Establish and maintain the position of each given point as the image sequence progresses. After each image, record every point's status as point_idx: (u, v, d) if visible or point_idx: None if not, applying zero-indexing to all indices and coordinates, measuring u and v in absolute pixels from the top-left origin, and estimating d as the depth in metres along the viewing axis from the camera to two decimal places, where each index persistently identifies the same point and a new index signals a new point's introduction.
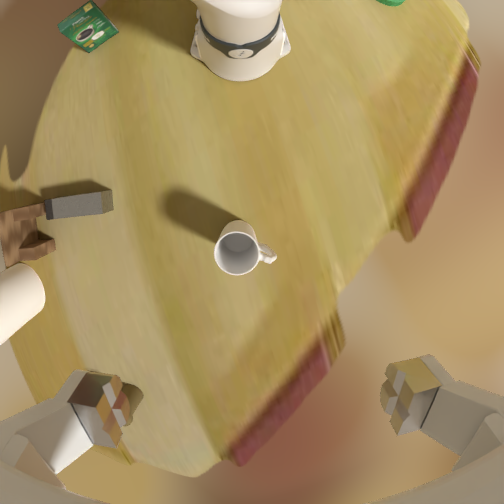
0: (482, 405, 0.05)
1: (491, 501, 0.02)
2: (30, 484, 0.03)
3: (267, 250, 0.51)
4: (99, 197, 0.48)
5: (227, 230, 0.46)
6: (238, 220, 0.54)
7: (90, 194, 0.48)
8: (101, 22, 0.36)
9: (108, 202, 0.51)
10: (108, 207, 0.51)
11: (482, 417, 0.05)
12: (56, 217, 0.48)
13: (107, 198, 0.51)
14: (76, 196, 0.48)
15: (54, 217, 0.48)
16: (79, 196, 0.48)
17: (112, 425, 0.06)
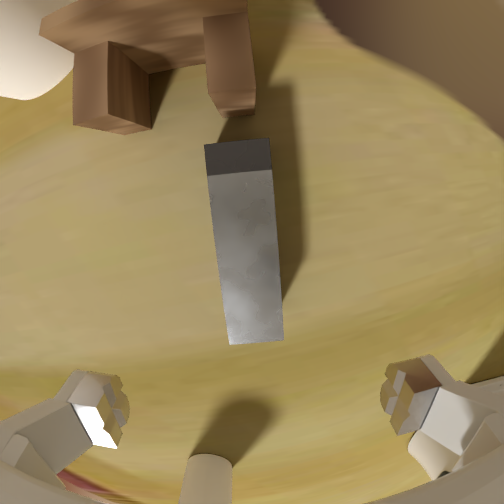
0: (482, 405, 0.05)
1: (491, 501, 0.02)
2: (30, 484, 0.03)
3: None
4: (269, 336, 0.21)
5: None
6: None
7: (279, 313, 0.20)
8: None
9: None
10: None
11: (483, 416, 0.05)
12: (212, 188, 0.18)
13: None
14: (276, 269, 0.20)
15: (212, 179, 0.18)
16: (275, 279, 0.20)
17: (112, 425, 0.06)
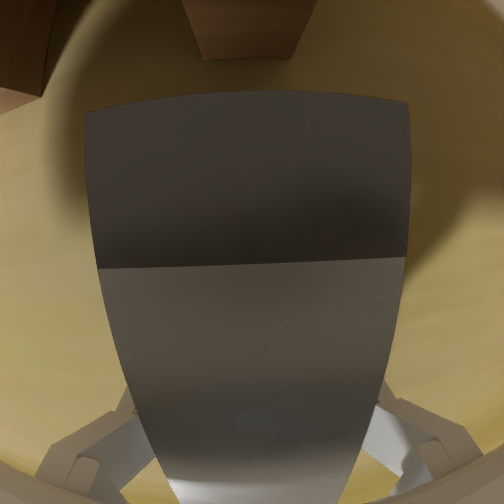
0: (421, 429, 0.05)
1: (491, 501, 0.02)
2: (30, 484, 0.03)
3: None
4: None
5: None
6: None
7: None
8: None
9: None
10: None
11: (422, 442, 0.05)
12: (124, 324, 0.04)
13: None
14: (330, 499, 0.05)
15: (120, 286, 0.04)
16: None
17: None
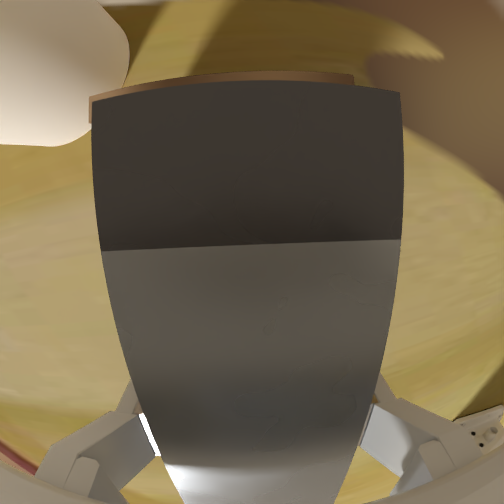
0: (421, 429, 0.05)
1: (491, 501, 0.02)
2: (30, 484, 0.03)
3: None
4: None
5: None
6: None
7: None
8: None
9: None
10: None
11: (423, 442, 0.05)
12: (126, 306, 0.04)
13: None
14: (330, 491, 0.05)
15: (122, 268, 0.04)
16: (323, 501, 0.06)
17: None
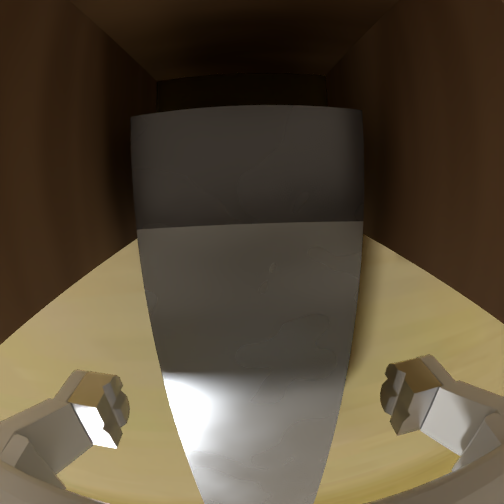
0: (482, 405, 0.05)
1: (491, 501, 0.02)
2: (30, 484, 0.03)
3: None
4: None
5: None
6: None
7: (309, 497, 0.08)
8: None
9: None
10: None
11: (482, 416, 0.05)
12: (154, 271, 0.05)
13: None
14: (321, 452, 0.07)
15: (153, 242, 0.05)
16: (315, 465, 0.07)
17: (112, 425, 0.06)
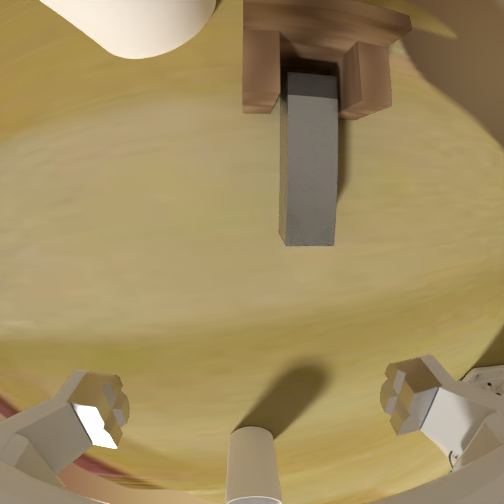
0: (482, 405, 0.05)
1: (491, 501, 0.02)
2: (30, 484, 0.03)
3: None
4: (322, 241, 0.24)
5: (278, 485, 0.27)
6: (273, 442, 0.36)
7: (333, 218, 0.23)
8: None
9: None
10: None
11: (483, 416, 0.05)
12: (291, 104, 0.21)
13: None
14: (334, 177, 0.22)
15: (291, 97, 0.20)
16: (333, 185, 0.22)
17: (112, 425, 0.06)
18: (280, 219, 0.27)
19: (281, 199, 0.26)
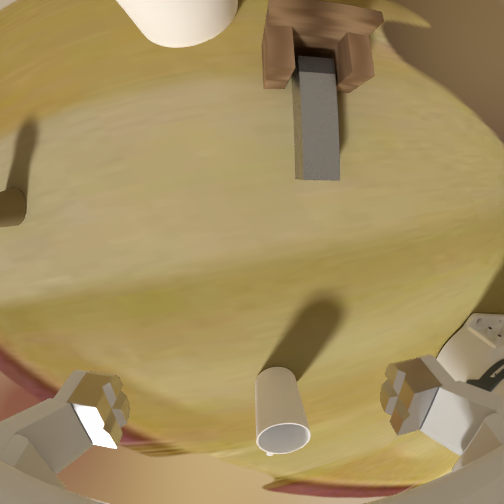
0: (482, 405, 0.05)
1: (491, 501, 0.02)
2: (30, 484, 0.03)
3: None
4: (330, 176, 0.30)
5: (305, 416, 0.33)
6: None
7: (337, 159, 0.29)
8: None
9: None
10: None
11: (483, 416, 0.05)
12: (301, 78, 0.27)
13: None
14: (336, 129, 0.28)
15: (301, 73, 0.27)
16: (336, 135, 0.29)
17: (112, 425, 0.06)
18: (296, 166, 0.33)
19: (297, 150, 0.32)
